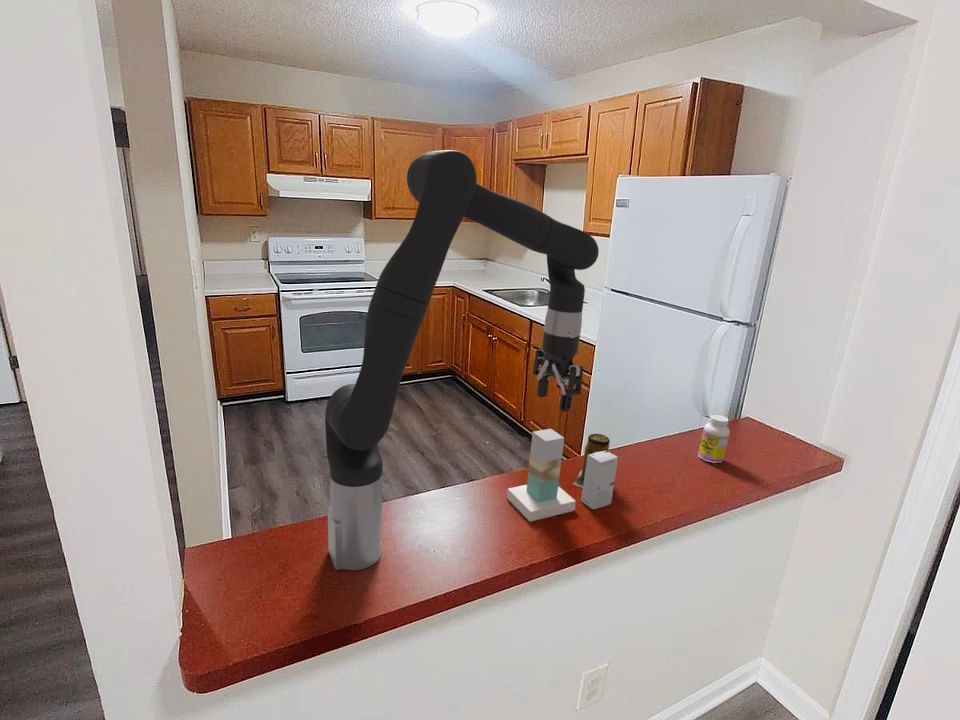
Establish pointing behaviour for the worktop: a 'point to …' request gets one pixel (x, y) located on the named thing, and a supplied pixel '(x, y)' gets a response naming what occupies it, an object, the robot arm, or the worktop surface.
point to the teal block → (542, 489)
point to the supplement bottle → (714, 439)
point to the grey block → (547, 445)
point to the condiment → (593, 445)
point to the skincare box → (599, 479)
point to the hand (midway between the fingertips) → (552, 403)
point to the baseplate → (540, 503)
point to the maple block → (544, 469)
